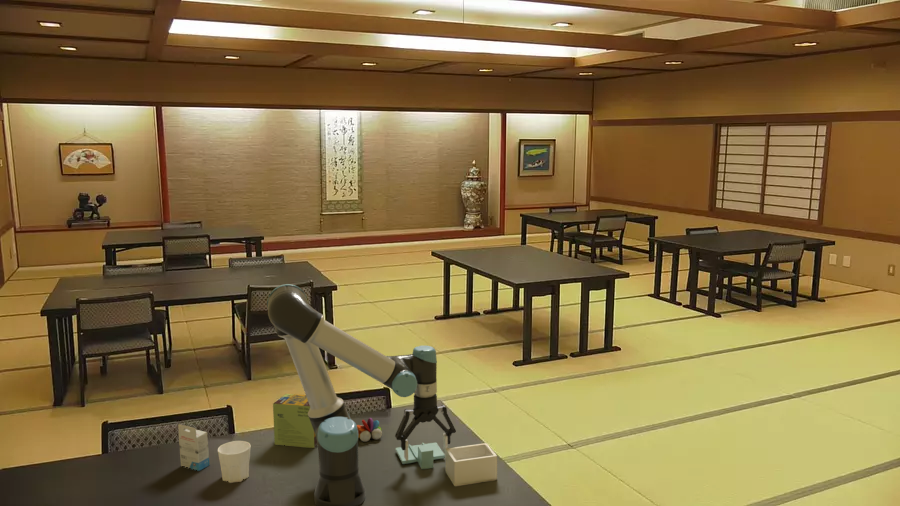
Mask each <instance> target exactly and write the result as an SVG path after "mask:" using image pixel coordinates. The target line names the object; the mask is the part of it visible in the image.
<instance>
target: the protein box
mask: <svg viewBox="0 0 900 506" xmlns="http://www.w3.org/2000/svg"><path fill="white" fill-rule="evenodd" d="M309 410H310V405H309V402H308V399H307V397H306V394H296V393H295V394H294V393H285V394H284V395H283V396H281V397H280V398H278V399H277V400H276V401H274V403H272V411H273V413H272V414H273V434H274V436H273V440H274V441H273V442H274V445H275V446H276V445H277V446H284V445H285V446H286V447H294V448H295V447H298V448H308V449H315V448H316V447H318V445H317V440H316V436H315V433H314V430H313V427H312V424H311V422H310V419H309V416H308V412H309Z"/></svg>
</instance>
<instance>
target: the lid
mask: <svg viewBox="0 0 900 506" xmlns="http://www.w3.org/2000/svg"><path fill="white" fill-rule="evenodd" d="M395 452H396V454H397V456H398V458H399V459H400V462H401V464H402V465H405V464H412V463H417V464H418V466H419V467H420V469H421V470H427V469H434V460H439V459H445V454H444V452H443V449H441V447H440V446H439V444H438V442H428V443H425V442H421V444H416V445H411V444H410V443H408V460H407V461H406V459H405V458H404V450H402V448H401V446H399V447H395Z"/></svg>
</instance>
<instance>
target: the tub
mask: <svg viewBox="0 0 900 506" xmlns="http://www.w3.org/2000/svg"><path fill="white" fill-rule="evenodd" d="M444 455H445V458H444V459H445V474H446V475H447V477H448V478H449V480H450V481H451V483H452V484H453V487H460V486H466V485H472V484H479V483H484V482H493V481H497V480H498V455H497V453H495V451H494V450H493V449H492V448H491V447H490V446H489V444H488V443H487V442H484V443H476V444H469V445H462V446H455V447H448V448H446V449H445V454H444Z"/></svg>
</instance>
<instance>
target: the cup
mask: <svg viewBox="0 0 900 506" xmlns="http://www.w3.org/2000/svg"><path fill="white" fill-rule="evenodd" d="M251 449H252V447H251V443H250V442H248V441H245V440H233V441H229V442H226V443H223V444H221V445H220V446H218V448H217V454H218V460H219V461H218V462H219V464H220V470H221V471H220V472H221V477H222V482H223V481H224V482H227V481H228V482H227V483H229V484H232V483H238V482H241V483H242V481H244V480H245V479H248V477H249V476H250V475H249V474H250V460H251V459H250V458H251ZM249 478H250V477H249ZM243 479H244V480H243Z"/></svg>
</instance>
